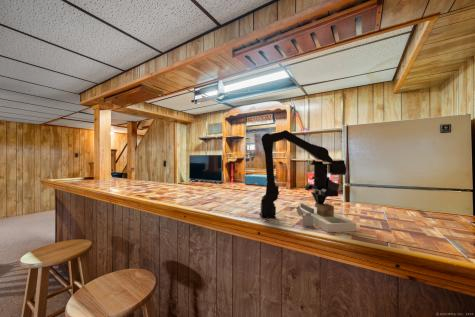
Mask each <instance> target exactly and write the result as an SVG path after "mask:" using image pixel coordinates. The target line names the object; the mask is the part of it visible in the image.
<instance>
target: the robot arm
mask: <svg viewBox="0 0 475 317" xmlns="http://www.w3.org/2000/svg"><path fill="white" fill-rule="evenodd" d="M260 140H261V144H262V147H263V152H264V159H265V170H266V171H265V172H266V174H265V175H266V189H265V194H264V195H263V196H261V200H260V201H261V202H260V213H259V215H260V217H261V218H263V219H269V218H272V219H275V218H276V217H277V216H276V214H277V211H276V210H277V208H276V204H275V203H274V202H275V201H277V199H278V198H279V196H280V191H279V186H280V185H279V184H276V181H275V170H274V168H275V167H274V159H273V158H274V157H273V156H274V155H273V151H274V143H277V142H278V143H279V142H281V141H283V140H284V141H287V142H288V143H291V144H292V145H294V146H296V147H298V148H300V149H301V150H303V151H305V152H306V153H308V154H309V155H310V156H311V157H312V158H313V160H311V161H310V163H309V165H310V166H313V176H311V178H312V180H313V183H309V184H308V183H307V184H306V185H305V186H304V188H305V190H306V191H310V190H312V191H311V195H312V197H313V199H314V201H315V203H317V204H325V201H326V198H328V197H331V198H332V197H334V198H335V197H336V198H337V197H339V187H340V184H339V183H337V182H334V181H333V180H332V179H331V178H330V177H329V176H328V174H330V175H331V176H346V174H347V166H346V162H345V160H344V159H343V160H333V159H332V157H331V156H330V154H329V153H330V152H329V150H328V149H327V148H325V147H323V146H320V145H316V144H313V143H310V142H308V141H306V140H304V139H303V138H301V137H299V136H297V135H295V134H293V133H291V132H290V131H289V130H286V129H284V130H282V131H277V132H273V133H264V134H263V135H262V136H261V139H260ZM316 160H317V161H316Z"/></svg>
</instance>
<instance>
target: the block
mask: <svg viewBox="0 0 475 317" xmlns="http://www.w3.org/2000/svg"><path fill="white" fill-rule="evenodd" d="M334 213H335V206H334V205H332V204H329V203H323V204H317V214H318V215H320V216H322V217H334Z"/></svg>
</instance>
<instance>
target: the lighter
mask: <svg viewBox="0 0 475 317" xmlns="http://www.w3.org/2000/svg"><path fill="white" fill-rule="evenodd" d="M295 210H296V212H297V211H298V213H297V214H298V216H299V217H302V226H303V227H304V226H306V227H314V223H313V215H311V213H307V212H306V214H303V213H302V211H301V209H300V205H298V204H297V205H296V206H295ZM301 215H303V216H301Z"/></svg>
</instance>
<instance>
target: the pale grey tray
mask: <svg viewBox="0 0 475 317" xmlns="http://www.w3.org/2000/svg"><path fill="white" fill-rule="evenodd" d="M299 204H300V205H299V207H300V209H301V211H302V213H303V214H306V212H307V213H311V215H313V225H316V226H317V227H319V228H320V229H322V230H323V231H324V232H326V233H337V232H338V233H340V232H341V233H342V232H356V231H357V223H356V222H355V221H352V220H350V219H348V218H346V217H343V216H341V215H339V214H337V213H335V212H334V217H322V216H320V215H318V214H317V203H316V202H315V203H314V206H308V205H307V204H305V203H299ZM296 213H297V214H298V211H297V210H296ZM300 217H303V215H301V216H300Z"/></svg>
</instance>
